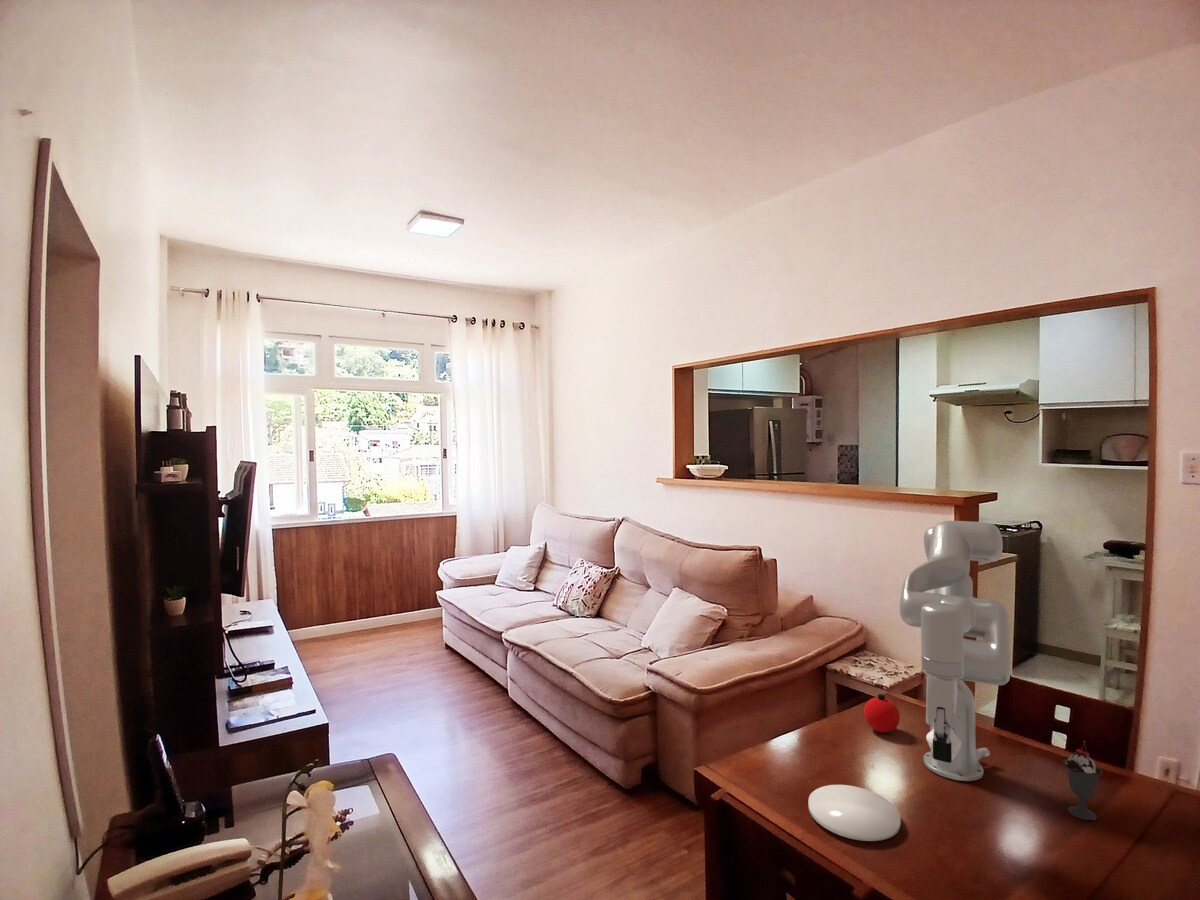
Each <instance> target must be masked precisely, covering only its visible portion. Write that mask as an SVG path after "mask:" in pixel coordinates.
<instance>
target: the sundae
mask: <svg viewBox="0 0 1200 900" xmlns="http://www.w3.org/2000/svg"><path fill="white" fill-rule="evenodd" d="M1082 742H1083V746H1082V747H1081V748H1077V749H1076V751H1074V752H1073V753H1071V754H1070V756H1069V758H1066V759H1064V760H1062V764H1063V765H1064V767H1065V768H1066V771H1067V776H1068V783H1069V786H1070V790H1071V791H1072V792H1073V794H1074V795H1076V796H1077V797H1078V804H1077V806H1076V805H1071V806H1068V808H1067V811H1068V813H1069V814H1071V816H1073V817H1075V818H1078V819H1080V820H1083V821H1087V820H1092V819H1094V821H1096V820H1095V818H1096V817H1097V818H1098V816H1096V815H1097V814H1096V813H1095V812H1094V811H1092V810H1090V809H1088V808H1087V804H1086V802H1087V800H1088V799H1090V798H1092V797H1094V796H1095V793H1096V788H1097V782H1098V777H1101V776H1102V775H1103V770H1102V768H1101V767H1100V766H1098V765H1096V762H1094V760H1093V759H1092V758H1091V757H1090V753H1089V752H1088V750H1087V745H1086V743H1087V741H1086V740H1083V741H1082ZM1083 748H1085V751H1084V750H1083ZM1093 812H1094V813H1093Z"/></svg>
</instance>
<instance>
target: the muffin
mask: <svg viewBox="0 0 1200 900" xmlns="http://www.w3.org/2000/svg"><path fill="white" fill-rule="evenodd" d="M944 726H948V725H947V724H944ZM944 732H945V733H946V735H947V729H944ZM925 737H926V741H927V744H928V746H929V748H930V751H931V750H932V752H933V738H934V729H933V730H932V731H929V732H928V733H927V734H926V735H925ZM950 742H951V751H952V760H953V759H954V758H955V756H956V755H957V753H958V752H959V750H960V749H959V748H960V747H961V741H960V739H959V738H958V737H957V736H956V735H955V734H954V732H953V729H950Z"/></svg>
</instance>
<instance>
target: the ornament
mask: <svg viewBox="0 0 1200 900" xmlns="http://www.w3.org/2000/svg"><path fill="white" fill-rule="evenodd" d="M899 711H900V710H898V708H897V706H896V704H895V703H894V702H893V701H891V700H890V699H888V698H886V696H885V695H884V694H883V693H882V694H881V693H879V694H878V695H877V696H876V697H872V698H870V699H869V700H868V701H867V702H866V703H865V705H864V708H863V717H864V720H865V722H866V723H867V725H869V727H870V728H871V729H872V730H874V731H876V732H877V733H883V734H887V733H891V732H893V731H895V730H896V729H897V728H898V726H899V724H900V719H901V718H900V717H901V715H900V712H899Z"/></svg>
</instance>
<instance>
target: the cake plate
mask: <svg viewBox="0 0 1200 900" xmlns="http://www.w3.org/2000/svg"><path fill="white" fill-rule="evenodd" d="M807 800H808V805H807V806H808V812H809V814H810V815H811V817H812V819H814V821H816V822H817V824H819V825H820V826H821V827H823V828H825V829H826V830H828V831H830V832H831V833H833V834H836V835H838V836H841V837H843V838H847V839H851V840H856V841H862V842H864V841H865V842H878V841H883V840H884V841H885V840H888V839H890V838H892V837H894V836H895V835H897V834H898V833H899V831H900V829H901V815H900V812H899V810H898V809H897V807H896V806H895V805H894V803H892V802H891V801H890V800H888V799H887V798H885V797H884V796H882V795H880V794H878V793H876V792H874V791H872V790H869V789H867V788H862V787H860V786H859V787H858V786H854V785H847V784H828V785H824V786H821V787H817V788H816V789H815V790H814V791H812V792H811V793H810V794H809V796H808V799H807Z"/></svg>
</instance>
